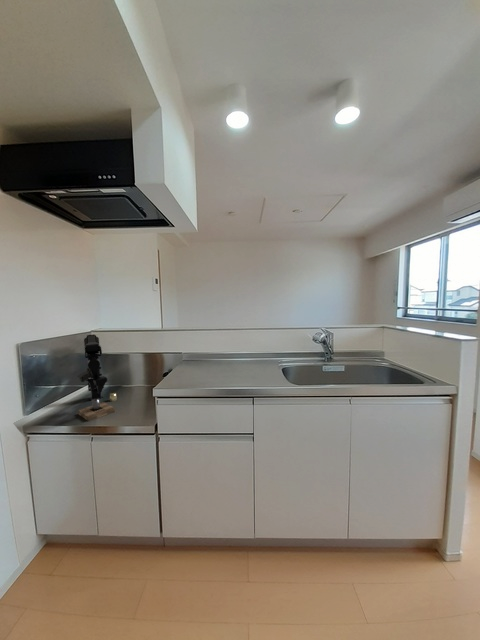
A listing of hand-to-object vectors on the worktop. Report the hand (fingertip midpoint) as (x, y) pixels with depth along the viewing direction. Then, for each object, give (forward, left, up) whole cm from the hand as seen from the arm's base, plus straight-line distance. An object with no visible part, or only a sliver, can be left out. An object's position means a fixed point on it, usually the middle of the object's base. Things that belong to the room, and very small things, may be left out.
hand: (96, 391), depth 151 cm
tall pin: (+2, -2, -12) cm, 12 cm away
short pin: (-9, +14, -12) cm, 20 cm away
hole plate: (+2, -1, -12) cm, 12 cm away
